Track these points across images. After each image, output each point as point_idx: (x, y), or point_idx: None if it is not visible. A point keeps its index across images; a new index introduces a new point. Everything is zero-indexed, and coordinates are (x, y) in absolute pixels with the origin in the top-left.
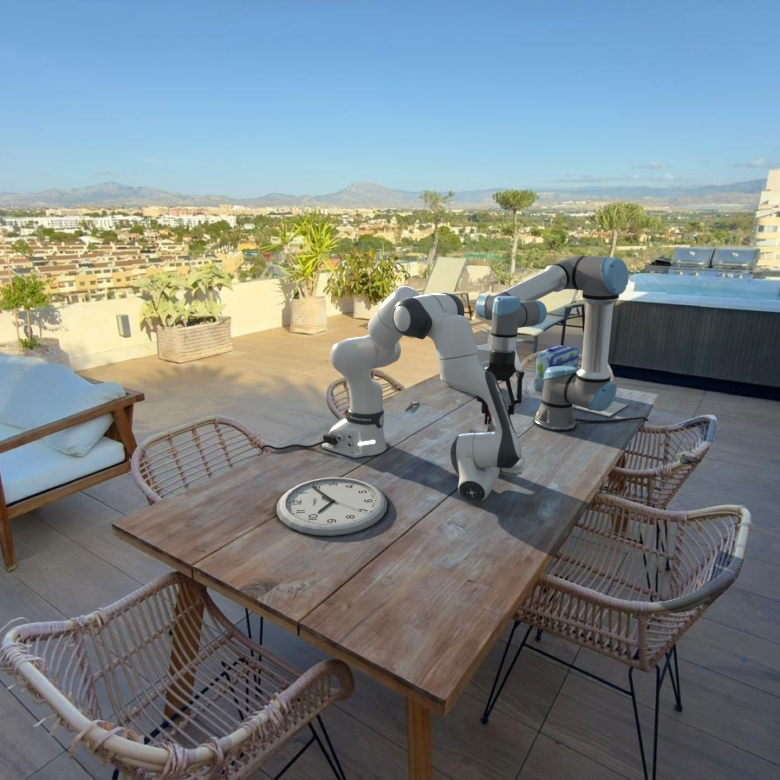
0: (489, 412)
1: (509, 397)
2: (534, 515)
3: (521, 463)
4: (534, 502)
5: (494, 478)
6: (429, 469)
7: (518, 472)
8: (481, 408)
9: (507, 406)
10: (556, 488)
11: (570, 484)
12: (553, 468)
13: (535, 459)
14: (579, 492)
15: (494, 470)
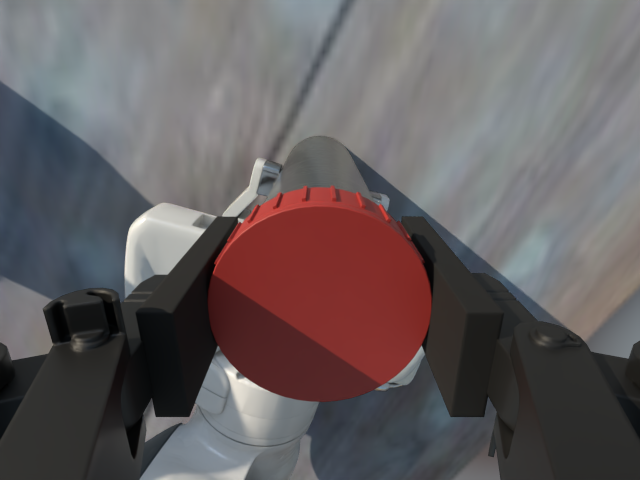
0: (230, 354)
1: (517, 451)
2: (410, 425)
3: (421, 359)
4: (428, 367)
5: (296, 462)
6: (64, 189)
7: (397, 382)
8: (130, 299)
9: (447, 303)
10: (531, 276)
11: (597, 241)
12: (592, 104)
13: (545, 5)
14: (600, 293)
15: (297, 442)
